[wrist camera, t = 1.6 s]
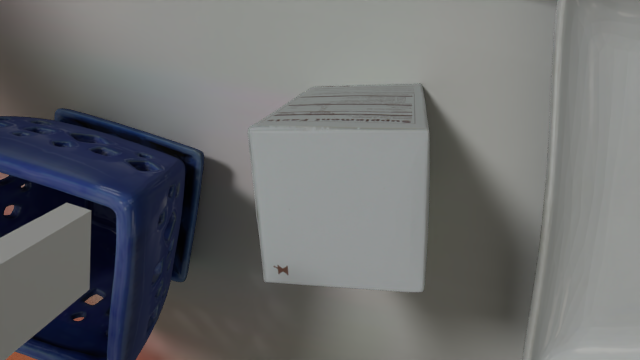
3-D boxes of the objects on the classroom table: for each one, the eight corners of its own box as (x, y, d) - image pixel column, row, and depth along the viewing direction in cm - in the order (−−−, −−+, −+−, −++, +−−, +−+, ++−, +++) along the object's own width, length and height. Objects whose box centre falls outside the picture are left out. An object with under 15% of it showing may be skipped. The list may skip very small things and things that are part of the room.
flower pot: (207, 283, 36) (118, 398, 25) (64, 234, 38) (-79, 324, 27) (232, 134, 31) (135, 198, 20) (66, 84, 32) (-111, 119, 22)
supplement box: (421, 190, 30) (426, 301, 18) (315, 186, 31) (257, 287, 20) (425, 80, 27) (435, 128, 16) (310, 81, 29) (240, 127, 17)
